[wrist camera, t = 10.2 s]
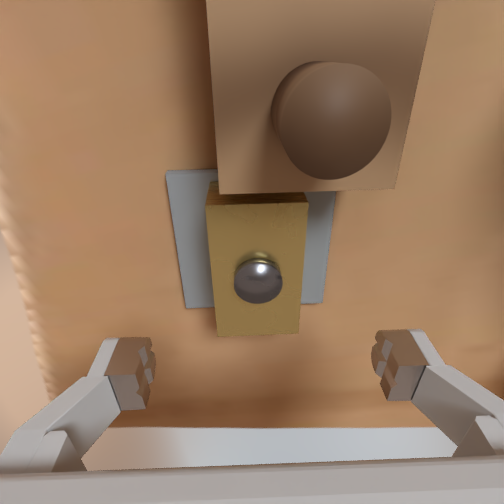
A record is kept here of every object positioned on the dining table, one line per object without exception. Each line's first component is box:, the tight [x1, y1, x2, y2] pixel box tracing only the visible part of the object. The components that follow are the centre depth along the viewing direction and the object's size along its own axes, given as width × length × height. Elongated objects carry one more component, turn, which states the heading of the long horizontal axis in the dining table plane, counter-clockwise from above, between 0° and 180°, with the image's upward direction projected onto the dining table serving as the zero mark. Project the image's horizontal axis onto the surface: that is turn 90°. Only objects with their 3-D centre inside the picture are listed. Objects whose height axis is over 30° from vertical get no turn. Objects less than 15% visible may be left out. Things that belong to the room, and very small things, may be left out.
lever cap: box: [205, 181, 309, 337], centre depth 18 cm, size 8×5×4 cm, turn 1°
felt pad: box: [166, 169, 336, 308], centre depth 20 cm, size 9×9×1 cm
